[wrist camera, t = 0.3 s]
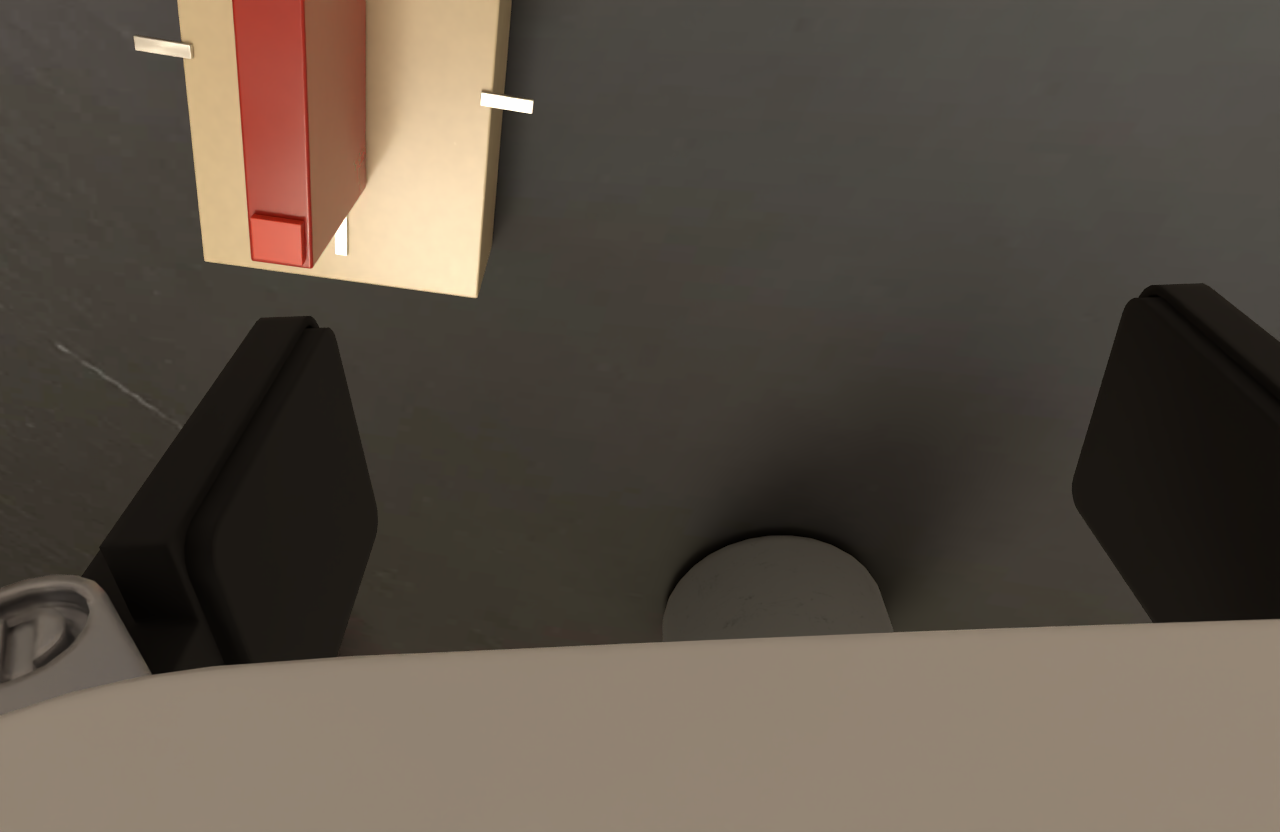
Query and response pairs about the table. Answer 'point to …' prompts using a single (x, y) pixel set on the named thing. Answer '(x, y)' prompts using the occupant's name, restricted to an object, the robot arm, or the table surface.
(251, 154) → the glossy red slab
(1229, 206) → the table surface
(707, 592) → the water bottle
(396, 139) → the tan slotted block stand
